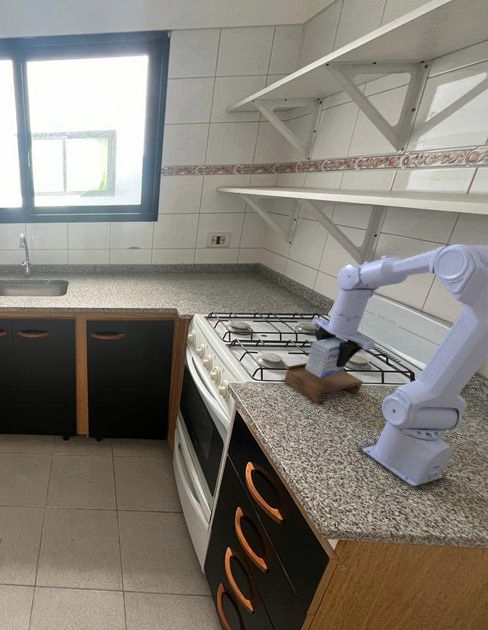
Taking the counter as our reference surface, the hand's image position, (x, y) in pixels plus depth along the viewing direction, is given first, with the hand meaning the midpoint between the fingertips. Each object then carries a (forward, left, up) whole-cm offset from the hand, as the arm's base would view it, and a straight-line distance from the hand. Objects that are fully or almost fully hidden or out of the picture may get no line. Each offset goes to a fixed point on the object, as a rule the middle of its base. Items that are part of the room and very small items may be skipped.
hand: (331, 361), depth 90 cm
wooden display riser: (0, 0, -9) cm, 9 cm away
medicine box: (0, +2, -3) cm, 3 cm away
